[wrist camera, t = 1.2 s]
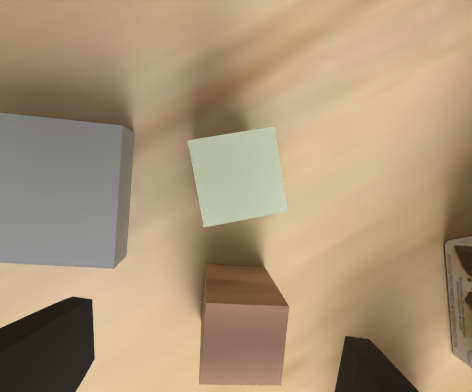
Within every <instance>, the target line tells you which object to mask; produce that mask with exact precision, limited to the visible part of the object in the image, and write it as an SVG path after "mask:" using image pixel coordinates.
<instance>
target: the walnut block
mask: <svg viewBox="0 0 472 392" xmlns="http://www.w3.org/2000/svg"><path fill="white" fill-rule="evenodd" d="M288 312H289V306H288V304H287V302H286V301H285V299H284V298H283V296H282V294H281V293H280V291H279V290H278V288H277V286H276V285H275V283H274V281H273V280H272V278H271V277H270V275H269V273H268V272H267V270H266V269H265V267H258V266H240V265H222V264H206V273H205V284H204V296H203V308H202V320H201V347H200V375H199V384H217V385H281V379H282V369H283V360H284V350H285V341H286V331H287V322H288Z"/></svg>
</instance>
